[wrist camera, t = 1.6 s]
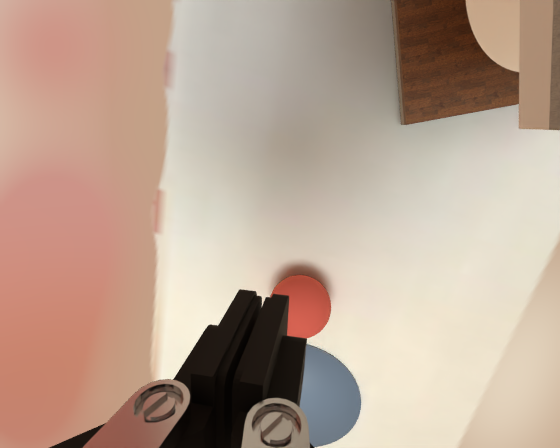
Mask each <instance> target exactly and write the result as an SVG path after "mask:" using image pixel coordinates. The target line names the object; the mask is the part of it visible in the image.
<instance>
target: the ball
mask: <svg viewBox="0 0 560 448" xmlns="http://www.w3.org/2000/svg"><path fill="white" fill-rule="evenodd" d="M273 294H280V295H288V296H289V312H288V328H287V336H293V337H300V338H309V337H312V336H314V335H316V334H317V333H319V332H320V331H321V330H322V329H323V328H324V327H325V325H326V324H327V322H328V320H329V317H330V312H331V302H330V298H329V295H328V293H327V291H326V289H325V288H324V287H323V285H322V284H321V283H320V282H318V281H317V280H315V279H314V278H311V277H309V276H305V275H294V276H290V277H288V278H286V279H284V280H282V281H281V282H280V283H279V284H278V285H277V286H276V287H275V288H274V290H273V292H272V294H271V297H272V295H273ZM271 297H270V298H271Z"/></svg>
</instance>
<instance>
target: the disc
mask: <svg viewBox="0 0 560 448" xmlns="http://www.w3.org/2000/svg"><path fill="white" fill-rule="evenodd" d="M300 408H301V409H302V411H303V412H304V414H305V415H306V417H307V422H308V426H309V440H310V443H311V444H312V446H313V447H318V446H323V445H327V444H330V443H332V442H335V441H337V440H339V439H340V438H342V437H343V436H345V435H346V434H347V433H348V432H349V431H350V430H351V429H352V428H353V426H354V425H355V423H356V421H357V419H358V417H359V413H360V409H361V398H360V392H359V388H358V385H357V383H356V381H355V379H354V377H353V376H352V374H351V373H350V371H349V370H348V369H347V368H346V367H345V366H344V365H343V364H342V363H341V362H340V361H339V360H338V359H336V358H335V357H334V356H332V355H330V354H329V353H327V352H325V351H323V350H321V349H319V348H316V347H313V346H310V345H306V356H305V367H304V376H303V385H302V392H301V400H300Z"/></svg>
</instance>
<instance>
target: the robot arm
mask: <svg viewBox="0 0 560 448" xmlns="http://www.w3.org/2000/svg"><path fill="white" fill-rule="evenodd" d="M288 312H289V296H288V295H280V294H273V295H272V297H271V298H270V297H266V299H265V301H264V304H263V306H262V297H261V296H257V294H256V291H248V290H239V291H238V293H237V295H236V296H235V298H234V300H233V301H232V303H231V305H230V306H229V308H228V310H227V312H226V313H225V315H224V317H223V318H222V320H221V322H220V324H219V325H218V326H217V325H208V327H207V328H206V329H205V331H204V332H203V334H202V336H201V337H200V339H199V340H198V342H197V343H196V345H195V347H194V348H193V350H192V351H191V353H190V354H189V356H188V357H187V359H186V361H185V362H184V364H183V365H182V367H181V368H180V370H179V372H178V373H177V375H176V376H175V378H174V379H173V380H171V379H165V380H158V381H154V382H151V383H149V384H147V385H145V386H143V387H141V388H140V389H139V390H138V391H137V392H135V393H134V394H133V395H132V396H131V397H130V398H129V399H128V401H127V402H126V403H125V404H124V405H123V406H122V407H121V408H120V409H119V410H118V411H117V412H116V413H115V414H114V415H113V416H112V417H111V418H110V419H109V420H108V422H107V423H105V424H103V425H101V426H98V427H96V428H94V429H91V430H89V431H87V432H84V433H82V434H80V435H77V436H75V437H73V438H71V439H68V440H66V441H64V442H61V443H59V444H57V445H55V446H52V447H50V448H314V447H313V446H312V444H311V443H310V440H309V426H308V422H307V417H306V415H305V414H304V412H303V411H302V409H301V408H300V400H301V392H302V385H303V376H304V367H305V356H306V343H307V338H300V337H293V336H287V328H288Z"/></svg>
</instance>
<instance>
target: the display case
mask: <svg viewBox="0 0 560 448" xmlns="http://www.w3.org/2000/svg"><path fill="white" fill-rule="evenodd" d="M391 7H392V19H393V31H394V43H395V55H396V67H397V79H398V91H399V103H400V114H401V125H408V124H413V123H418V122H424V121H429V120H435V119H440V118H446V117H451V116H456V115H462V114H467V113H473V112H478V111H484V110H489V109H494V108H500V107H505V106H511V105H516V104H519V129H543V130H560V0H391Z"/></svg>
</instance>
